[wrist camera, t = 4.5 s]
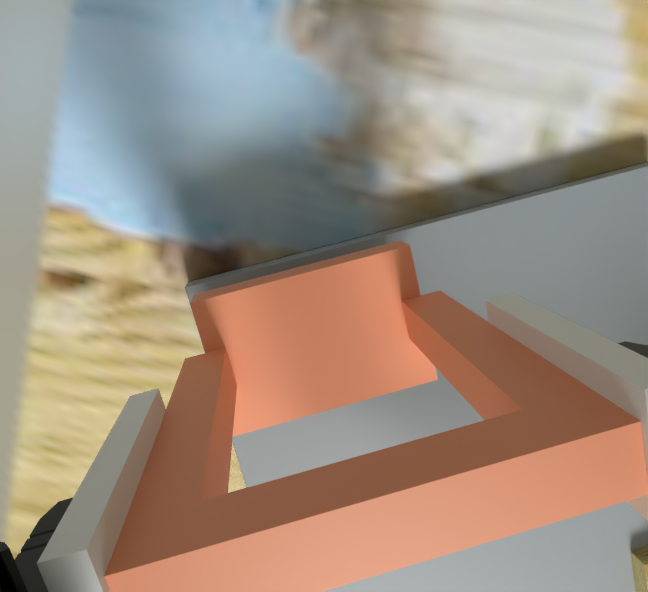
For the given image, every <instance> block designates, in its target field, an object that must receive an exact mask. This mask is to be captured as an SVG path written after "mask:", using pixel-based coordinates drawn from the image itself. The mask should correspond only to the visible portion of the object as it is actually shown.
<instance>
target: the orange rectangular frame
mask: <svg viewBox="0 0 648 592" xmlns="http://www.w3.org/2000/svg"><path fill="white" fill-rule="evenodd" d="M190 305H191V308H192V311H193V314H194V318H195V321H196V324H197V327H198V330H199V334H200V337H201V340H202V343H203V347H204V350H205V354H201V355H197V356H194V357H190V358H186V359H185V361H184V363H183V366H182V369H181V371H180V374H179V377H178V379H177V382H176V385H175V387H174V390H173V393H172V395H171V398H170V401H169V403H168V406H167V409H166V412H165V415H164V417H163V420H162V423H161V426H160V428H159V431H158V434H157V436H156V439H155V442H154V444H153V447H152V450H151V452H150V455H149V458H148V460H147V463H146V466H145V468H144V471H143V474H142V476H141V479H140V482H139V484H138V487H137V490H136V492H135V495H134V498H133V500H132V503H131V506H130V508H129V511H128V514H127V516H126V519H125V522H124V524H123V527H122V530H121V532H120V535H119V538H118V540H117V543H116V546H115V548H114V551H113V554H112V556H111V559H110V562H109V564H108V567H107V570H106V572H105V575H104V578H105V581H106V583H107V586H108V588H109V591H110V592H323V591H327V590H330V589H333V588H337V587H340V586H343V585H347V584H350V583H354V582H357V581H360V580H364V579H367V578H370V577H374V576H377V575H380V574H384V573H387V572H390V571H394V570H397V569H401V568H404V567H407V566H411V565H414V564H417V563H421V562H424V561H427V560H431V559H434V558H437V557H441V556H444V555H448V554H451V553H454V552H458V551H461V550H464V549H468V548H471V547H474V546H478V545H481V544H485V543H488V542H491V541H495V540H498V539H501V538H505V537H508V536H511V535H515V534H518V533H521V532H525V531H528V530H532V529H535V528H538V527H542V526H545V525H548V524H552V523H555V522H558V521H562V520H565V519H568V518H572V517H575V516H579V515H582V514H585V513H589V512H592V511H595V510H599V509H602V508H605V507H609V506H612V505H616V504H619V503H622V502H626V501H629V500H632V499H636V498H639V497H642V496H646V495H648V475H647V467H646V458H645V450H644V441H643V433H642V424H641V421H640V420H638V419H637V418H635V417H634V416H632V415H631V414H629V413H628V412H626V411H625V410H623V409H621V408H620V407H618V406H617V405H615V404H614V403H612V402H611V401H609V400H608V399H606V398H605V397H603V396H601V395H600V394H598V393H597V392H595V391H594V390H592V389H591V388H589V387H588V386H586V385H585V384H583V383H581V382H580V381H578V380H577V379H575V378H574V377H572V376H571V375H569V374H568V373H566V372H564V371H563V370H561V369H560V368H558V367H557V366H555V365H554V364H552V363H551V362H549V361H548V360H546V359H544V358H543V357H541V356H540V355H538V354H537V353H535V352H534V351H532V350H531V349H529V348H528V347H526V346H524V345H523V344H521V343H520V342H518V341H517V340H515V339H514V338H512V337H511V336H509V335H507V334H506V333H504V332H503V331H501V330H500V329H498V328H497V327H495V326H494V325H492V324H491V323H489V322H488V321H486V320H485V319H483V318H482V317H480V316H479V315H477V314H476V313H474V312H473V311H471V310H469V309H468V308H466V307H465V306H463V305H462V304H460V303H459V302H457V301H455V300H454V299H452V298H451V297H449V296H448V295H446V294H445V293H443V292H442V291H440V290H439V291H436V292H432V293H428V294H425V295H420V290H419V286H418V281H417V276H416V271H415V266H414V262H413V257H412V252H411V247H410V245H408V244H406V243H404V242H402V241H396V242H392V243H388V244H385V245H381V246H377V247H373V248H369V249H365V250H362V251H358V252H354V253H350V254H346V255H342V256H339V257H335V258H331V259H327V260H323V261H320V262H316V263H312V264H308V265H304V266H300V267H297V268H293V269H289V270H285V271H281V272H278V273H274V274H270V275H266V276H262V277H258V278H255V279H251V280H247V281H243V282H239V283H236V284H232V285H228V286H224V287H220V288H216V289H213V290H209V291H205V292H201V293H197V294H194V296H193V298H192V300H191V302H190ZM436 368H437V369H438V370H439V371H440V372H441V373H442V374H443V376H444V377H445V378H446V379H447V380H448V381H449V382H450V383H451V384H452V385H453V386H454V388H455V389H456V390H457V391H458V392H459V393H460V394H461V395H462V396H463V397H464V398H465V399H466V401H467V402H468V403H469V404H470V405H471V406H472V407H473V408H474V409H475V410H476V411H477V413H478V414H479V415H480V416H481V417H482V418H483V419H484V421H480V422H477V423H473V424H470V425H466V426H463V427H459V428H455V429H452V430H448V431H445V432H441V433H438V434H434V435H431V436H427V437H424V438H420V439H417V440H413V441H410V442H406V443H403V444H399V445H396V446H392V447H389V448H385V449H382V450H378V451H375V452H371V453H368V454H364V455H360V456H357V457H353V458H350V459H346V460H343V461H339V462H336V463H332V464H329V465H325V466H322V467H318V468H315V469H311V470H308V471H304V472H301V473H297V474H294V475H290V476H287V477H283V478H280V479H276V480H272V481H269V482H265V483H262V484H258V485H255V486H251V487H248V488H244V489H241V490H237V491H234V492H230V493H228V483H229V471H230V460H231V449H232V437H234V436H237V435H241V434H245V433H248V432H252V431H255V430H259V429H263V428H266V427H270V426H273V425H277V424H281V423H284V422H288V421H291V420H295V419H299V418H302V417H306V416H309V415H313V414H317V413H320V412H324V411H327V410H331V409H334V408H338V407H342V406H345V405H349V404H352V403H356V402H360V401H363V400H367V399H370V398H374V397H378V396H381V395H385V394H388V393H392V392H396V391H399V390H403V389H406V388H410V387H414V386H417V385H421V384H424V383H428V382H432V381H435V380H438V377H437V372H436Z"/></svg>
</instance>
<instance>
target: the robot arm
mask: <svg viewBox="0 0 648 592" xmlns="http://www.w3.org/2000/svg"><path fill="white" fill-rule="evenodd" d="M485 304H486V309H487V315H488V320H489V323H491V324H492V325H494V326H495V327H497V328H498V329H500V330H501V331H503V332H504V333H506V334H507V335H509V336H511V337H512V338H514V339H515V340H517V341H518V342H520V343H521V344H523V345H524V346H526V347H528V348H529V349H531V350H532V351H534V352H535V353H537V354H538V355H540V356H541V357H543V358H544V359H546V360H548V361H549V362H551V363H552V364H554V365H555V366H557V367H558V368H560V369H561V370H563V371H564V372H566V373H568V374H569V375H571V376H572V377H574V378H575V379H577V380H578V381H580V382H581V383H583V384H585V385H586V386H588V387H589V388H591V389H592V390H594V391H595V392H597V393H598V394H600V395H601V396H603V397H605V398H606V399H608V400H609V401H611V402H612V403H614V404H615V405H617V406H618V407H620V408H621V409H623V410H625V411H626V412H628V413H629V414H631V415H632V416H634V417H635V418H637V419H638V420H640V421H641V424H642V433H643V441H644V450H645V458H646V467H647V475H648V345H642V344H637V343H632V342H626V341H624V342H621V343H615V342H613V341H611V340H609V339H607V338H605V337H603V336H601V335H598V334H596V333H594V332H592V331H590V330H588V329H586V328H584V327H582V326H580V325H577V324H575V323H573V322H571V321H569V320H567V319H565V318H563V317H561V316H559V315H556V314H554V313H552V312H550V311H548V310H546V309H544V308H542V307H540V306H538V305H535V304H533V303H531V302H529V301H527V300H525V299H523V298H521V297H519V296H517V295H514V294H512V293H509V294H505V295H502V296H498V297H494V298H490V299H487V300H485ZM165 412H166V409H165V406H164V403H163V400H162V397H161V394H160V391H159V388H158V389H155V390H151V391H147V392H143V393H140V394H136V395H132V396H130V397H129V399H128V401H127V403H126V404H125V406H124V408H123V410H122V412H121V413H120V415H119V417H118V419H117V421H116V422H115V424H114V426H113V428H112V429H111V431H110V433H109V435H108V437H107V438H106V440H105V442H104V444H103V446H102V447H101V449H100V451H99V453H98V455H97V456H96V458H95V460H94V462H93V463H92V465H91V467H90V469H89V471H88V472H87V474H86V476H85V478H84V480H83V481H82V483H81V485H80V487H79V489H78V490H77V492H76V494H75V496H74V497H73V498H70V499H67V500H63V501H59V502H58V503H57V504H56V505H55V506H54V507H53V508H51V509H50V510H49V511H48V512H47V513H46V514H45V515H44V516H43V517H42V518H41V519H40V520H39V522H38V523H37V525H36V526H35V528H34V530H33V531H32V533H31V534H30V539H27V541H26V542H25V544H24V546H23V547H22V549H21V553H19V554H18V555H17V557H16V559H15V560H14V558H13V556H12V554H11V551H10V549H9V547H8V546H7V545H6V544H5V543H4V542H0V592H110V591H109V588H108V586H107V583H106V581H105V578H104V575H105V572H106V570H107V567H108V564H109V562H110V559H111V556H112V554H113V551H114V548H115V546H116V543H117V540H118V538H119V535H120V532H121V530H122V527H123V524H124V522H125V519H126V516H127V514H128V511H129V508H130V506H131V503H132V500H133V498H134V495H135V492H136V490H137V487H138V484H139V482H140V479H141V476H142V474H143V471H144V468H145V466H146V463H147V460H148V458H149V455H150V452H151V450H152V447H153V444H154V442H155V439H156V436H157V434H158V431H159V428H160V426H161V423H162V420H163V417H164V415H165ZM626 502H627V503H628V504H629V505H630V506H631V507H632V508H633V509H635V510H636V511H637V512H638V513H639V514H640V515H641V516H642V517H643V518H645V519H646V520H647V521H648V495H646V496H642V497H639V498H636V499H632V500H629V501H626Z"/></svg>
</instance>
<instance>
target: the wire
mask: <svg viewBox="0 0 648 592" xmlns="http://www.w3.org/2000/svg"><path fill="white" fill-rule="evenodd" d="M630 553H631V560H632V568H633V575H634V582H635V590H636V592H648V546H645V547H641V548H638V549H635V550H632V551H630Z"/></svg>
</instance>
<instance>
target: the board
mask: <svg viewBox="0 0 648 592" xmlns="http://www.w3.org/2000/svg"><path fill="white" fill-rule="evenodd" d="M396 241H402V242H404V243H406V244H408V245H410V247H411V252H412V257H413V262H414V266H415V271H416V276H417V281H418V286H419V290H420V295H425V294H428V293H432V292H436V291H439V290H440V291H442V292H443V293H445V294H446V295H448V296H449V297H451V298H452V299H454V300H455V301H457V302H459V303H460V304H462V305H463V306H465V307H466V308H468V309H469V310H471V311H473V312H474V313H476V314H477V315H479V316H480V317H482V318H483V319H485V320H486V321H488V322H489V320H488V315H487V309H486V304H485V300H487V299H490V298H494V297H498V296H502V295H505V294H509V293H512V294H514V295H517V296H519V297H521V298H523V299H525V300H527V301H529V302H531V303H533V304H535V305H538V306H540V307H542V308H544V309H546V310H548V311H550V312H552V313H554V314H556V315H559V316H561V317H563V318H565V319H567V320H569V321H571V322H573V323H575V324H577V325H580V326H582V327H584V328H586V329H588V330H590V331H592V332H594V333H596V334H598V335H601V336H603V337H605V338H607V339H609V340H611V341H613V342H615V343H621V342H624V341H626V342H632V343H637V344H642V345H648V162H645V163H642V164H638V165H634V166H630V167H626V168H623V169H619V170H615V171H611V172H607V173H603V174H600V175H596V176H592V177H588V178H584V179H581V180H577V181H573V182H569V183H565V184H561V185H558V186H554V187H550V188H546V189H542V190H539V191H535V192H531V193H527V194H523V195H519V196H516V197H512V198H508V199H504V200H500V201H497V202H493V203H489V204H485V205H481V206H477V207H474V208H470V209H466V210H462V211H458V212H455V213H451V214H447V215H443V216H439V217H435V218H432V219H428V220H424V221H420V222H416V223H413V224H409V225H405V226H401V227H397V228H393V229H390V230H386V231H382V232H378V233H374V234H371V235H367V236H363V237H359V238H355V239H352V240H348V241H344V242H340V243H336V244H332V245H329V246H325V247H321V248H317V249H313V250H310V251H306V252H302V253H298V254H294V255H290V256H287V257H283V258H279V259H275V260H271V261H268V262H264V263H260V264H256V265H252V266H248V267H245V268H241V269H237V270H233V271H229V272H226V273H222V274H218V275H214V276H210V277H206V278H203V279H199V280H195V281H191V282H188V284H187V286H186V287H185V289H186V292H187V296H188V299H189V302H191V300H192V298H193V296H194V294H197V293H201V292H205V291H209V290H213V289H216V288H220V287H224V286H228V285H232V284H236V283H239V282H243V281H247V280H251V279H255V278H258V277H262V276H266V275H270V274H274V273H278V272H281V271H285V270H289V269H293V268H297V267H300V266H304V265H308V264H312V263H316V262H320V261H323V260H327V259H331V258H335V257H339V256H342V255H346V254H350V253H354V252H358V251H362V250H365V249H369V248H373V247H377V246H381V245H385V244H388V243H392V242H396ZM192 312H193V311H192ZM193 315H194V314H193ZM196 325H197V324H196ZM197 328H198V327H197ZM198 331H199V330H198ZM200 338H201V337H200ZM201 341H202V340H201ZM202 344H203V343H202ZM204 351H205V350H204ZM436 372H437V377H438V380H435V381H432V382H428V383H424V384H421V385H417V386H414V387H410V388H406V389H403V390H399V391H396V392H392V393H388V394H385V395H381V396H378V397H374V398H370V399H367V400H363V401H360V402H356V403H352V404H349V405H345V406H342V407H338V408H334V409H331V410H327V411H324V412H320V413H317V414H313V415H309V416H306V417H302V418H299V419H295V420H291V421H288V422H284V423H281V424H277V425H273V426H270V427H266V428H263V429H259V430H255V431H252V432H248V433H245V434H241V435H237V436H234V437H232V441H233V445H234V448H235V451H236V454H237V458H238V461H239V464H240V467H241V471H242V474H243V477H244V480H245V483H246V487H247V488H248V487H251V486H255V485H258V484H262V483H265V482H269V481H272V480H276V479H280V478H283V477H287V476H290V475H294V474H297V473H301V472H304V471H308V470H311V469H315V468H318V467H322V466H325V465H329V464H332V463H336V462H339V461H343V460H346V459H350V458H353V457H357V456H360V455H364V454H368V453H371V452H375V451H378V450H382V449H385V448H389V447H392V446H396V445H399V444H403V443H406V442H410V441H413V440H417V439H420V438H424V437H427V436H431V435H434V434H438V433H441V432H445V431H448V430H452V429H455V428H459V427H463V426H466V425H470V424H473V423H477V422H480V421H484V419H483V418H482V417H481V416H480V415H479V414H478V413H477V411H476V410H475V409H474V408H473V407H472V406H471V405H470V404H469V403H468V402H467V401H466V399H465V398H464V397H463V396H462V395H461V394H460V393H459V392H458V391H457V390H456V389H455V388H454V386H453V385H452V384H451V383H450V382H449V381H448V380H447V379H446V378H445V377H444V376H443V374H442V373H441V372H440V371H439V370H438V369H437V368H436ZM645 546H648V521H647V520H646V519H645V518H643V517H642V516H641V515H640V514H639V513H638V512H637V511H636V510H635V509H633V508H632V507H631V506H630V505H629V504H628V503H627V502H622V503H619V504H616V505H612V506H609V507H605V508H602V509H599V510H595V511H592V512H589V513H585V514H582V515H579V516H575V517H572V518H568V519H565V520H562V521H558V522H555V523H552V524H548V525H545V526H542V527H538V528H535V529H532V530H528V531H525V532H521V533H518V534H515V535H511V536H508V537H505V538H501V539H498V540H495V541H491V542H488V543H485V544H481V545H478V546H474V547H471V548H468V549H464V550H461V551H458V552H454V553H451V554H448V555H444V556H441V557H437V558H434V559H431V560H427V561H424V562H421V563H417V564H414V565H411V566H407V567H404V568H401V569H397V570H394V571H390V572H387V573H384V574H380V575H377V576H374V577H370V578H367V579H364V580H360V581H357V582H354V583H350V584H347V585H343V586H340V587H337V588H333V589H330V590H327V591H323V592H636V590H635V582H634V575H633V568H632V560H631V553H630V551H632V550H635V549H638V548H641V547H645Z"/></svg>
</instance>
